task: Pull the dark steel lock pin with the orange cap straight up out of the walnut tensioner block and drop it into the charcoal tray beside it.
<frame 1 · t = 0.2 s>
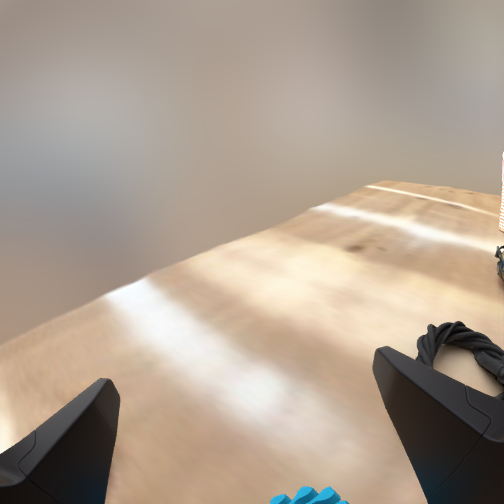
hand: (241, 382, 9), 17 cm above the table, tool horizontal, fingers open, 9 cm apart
cable: (462, 387, 22), on the table
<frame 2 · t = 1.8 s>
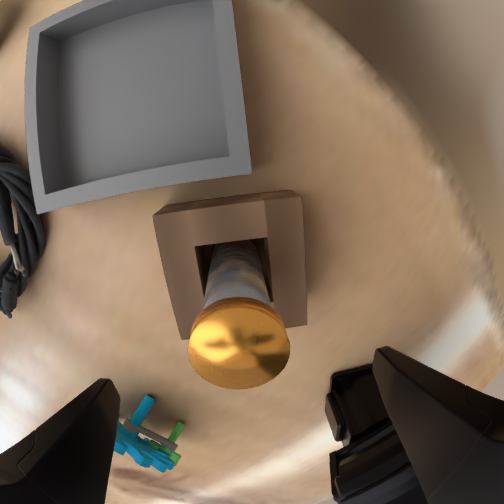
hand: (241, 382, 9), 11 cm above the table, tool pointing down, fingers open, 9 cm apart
gear: (138, 410, 24), on the table
lock pin: (236, 291, 14), in the tensioner block
tray: (134, 88, 15), on the table
tensioner block: (234, 257, 19), on the table
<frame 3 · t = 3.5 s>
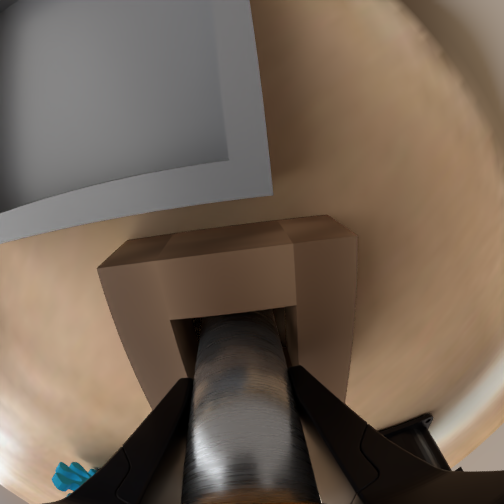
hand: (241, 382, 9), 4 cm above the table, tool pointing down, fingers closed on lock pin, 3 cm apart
gear: (125, 468, 17), on the table
lock pin: (243, 404, 8), in the tensioner block, touching gripper
tray: (83, 59, 8), on the table
tensioner block: (238, 317, 12), on the table
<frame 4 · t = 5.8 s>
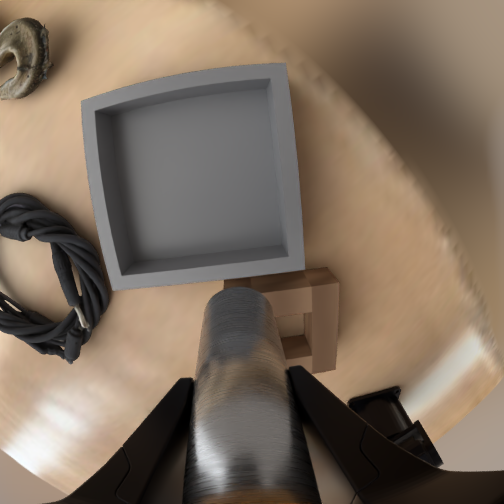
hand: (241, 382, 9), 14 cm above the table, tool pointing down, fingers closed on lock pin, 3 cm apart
lock pin: (243, 405, 8), point 15 cm above the table, touching gripper
tray: (195, 175, 20), on the table
cable: (34, 265, 22), on the table
tensioner block: (280, 318, 23), on the table
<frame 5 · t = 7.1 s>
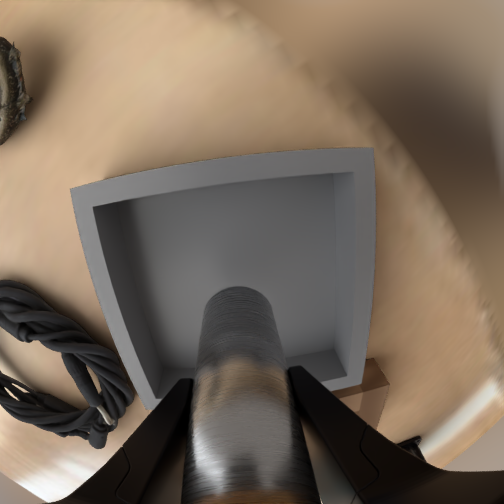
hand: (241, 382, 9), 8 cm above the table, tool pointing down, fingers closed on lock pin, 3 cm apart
lock pin: (243, 405, 8), point 9 cm above the table, touching gripper
tray: (235, 277, 16), on the table
cable: (40, 351, 18), on the table
tensioner block: (320, 404, 20), on the table
when the fingers open (7 cm above the table, at t = 7.9 s): lock pin drops 2 cm, resting on tray.
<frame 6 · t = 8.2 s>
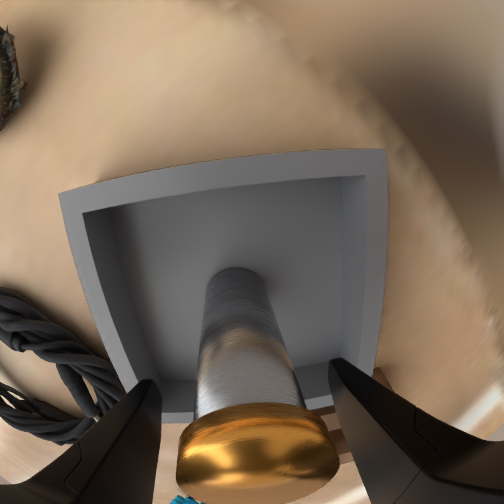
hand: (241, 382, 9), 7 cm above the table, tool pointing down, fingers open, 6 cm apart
gear: (216, 493, 24), on the table
lock pin: (242, 356, 10), in the tray, point 6 cm above the table
tray: (236, 287, 15), on the table
cable: (35, 359, 17), on the table
tensioner block: (323, 414, 19), on the table
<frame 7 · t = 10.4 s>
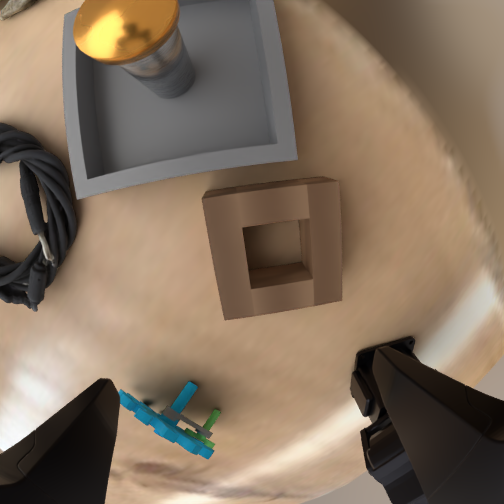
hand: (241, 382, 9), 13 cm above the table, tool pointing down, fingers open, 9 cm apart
gear: (173, 397, 25), on the table
lock pin: (153, 53, 11), in the tray, point 6 cm above the table
tray: (174, 79, 16), on the table
cable: (4, 202, 18), on the table
tensioner block: (272, 239, 20), on the table
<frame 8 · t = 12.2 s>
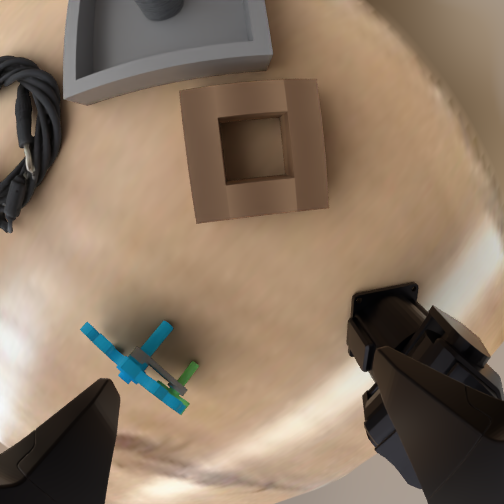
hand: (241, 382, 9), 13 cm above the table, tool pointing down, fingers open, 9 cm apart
gear: (147, 344, 23), on the table
tray: (166, 9, 15), on the table
tensioner block: (253, 148, 19), on the table
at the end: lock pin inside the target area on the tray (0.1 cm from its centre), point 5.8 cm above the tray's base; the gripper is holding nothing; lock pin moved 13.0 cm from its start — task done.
